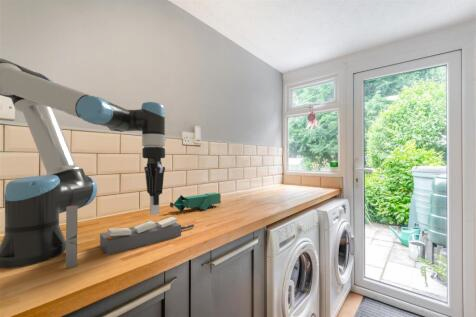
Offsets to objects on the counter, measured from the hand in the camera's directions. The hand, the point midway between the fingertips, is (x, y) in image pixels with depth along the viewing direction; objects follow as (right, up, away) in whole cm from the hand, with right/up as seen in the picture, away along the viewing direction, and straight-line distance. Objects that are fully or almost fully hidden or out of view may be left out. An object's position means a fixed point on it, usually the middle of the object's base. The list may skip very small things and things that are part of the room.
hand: (154, 213), depth 76 cm
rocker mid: (-2, -4, -2) cm, 5 cm away
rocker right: (+3, -4, +3) cm, 6 cm away
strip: (-1, -9, +2) cm, 10 cm away
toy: (+5, -10, +48) cm, 49 cm away
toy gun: (-18, -9, -15) cm, 25 cm away
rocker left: (-8, -4, -8) cm, 12 cm away
